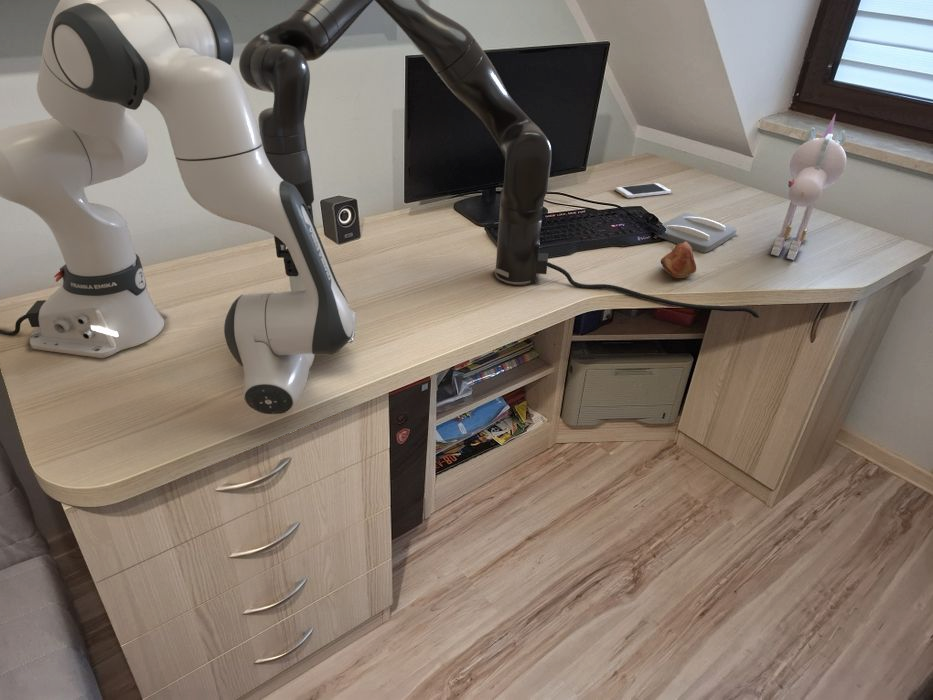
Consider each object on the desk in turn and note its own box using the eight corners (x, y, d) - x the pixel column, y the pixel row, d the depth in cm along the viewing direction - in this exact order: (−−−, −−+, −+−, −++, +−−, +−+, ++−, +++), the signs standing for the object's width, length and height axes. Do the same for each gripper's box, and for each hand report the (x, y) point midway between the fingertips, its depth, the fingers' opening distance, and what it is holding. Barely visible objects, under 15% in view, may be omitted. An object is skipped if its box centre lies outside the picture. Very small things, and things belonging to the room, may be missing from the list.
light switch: (708, 241, 156) (653, 223, 165) (705, 253, 158) (650, 234, 167) (740, 223, 167) (687, 206, 176) (737, 234, 169) (684, 217, 178)
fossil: (669, 273, 140) (675, 228, 140) (641, 275, 147) (646, 232, 147) (707, 283, 147) (712, 240, 147) (678, 285, 154) (683, 244, 154)
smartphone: (614, 190, 195) (615, 187, 194) (657, 185, 199) (658, 182, 199) (627, 198, 189) (628, 195, 189) (671, 193, 194) (671, 190, 193)
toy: (826, 222, 178) (867, 110, 161) (806, 269, 152) (852, 142, 135) (779, 212, 183) (814, 103, 167) (751, 256, 157) (789, 132, 141)
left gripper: (351, 329, 107) (361, 289, 118) (227, 326, 106) (249, 287, 117) (353, 360, 110) (363, 318, 122) (233, 358, 109) (254, 316, 121)
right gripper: (279, 161, 111) (291, 247, 120) (250, 189, 99) (265, 282, 108) (321, 163, 111) (330, 249, 120) (297, 191, 99) (309, 284, 108)
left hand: (306, 303), depth 119 cm, fingers closed on jar, 4 cm apart
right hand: (299, 264), depth 114 cm, fingers open, 7 cm apart
